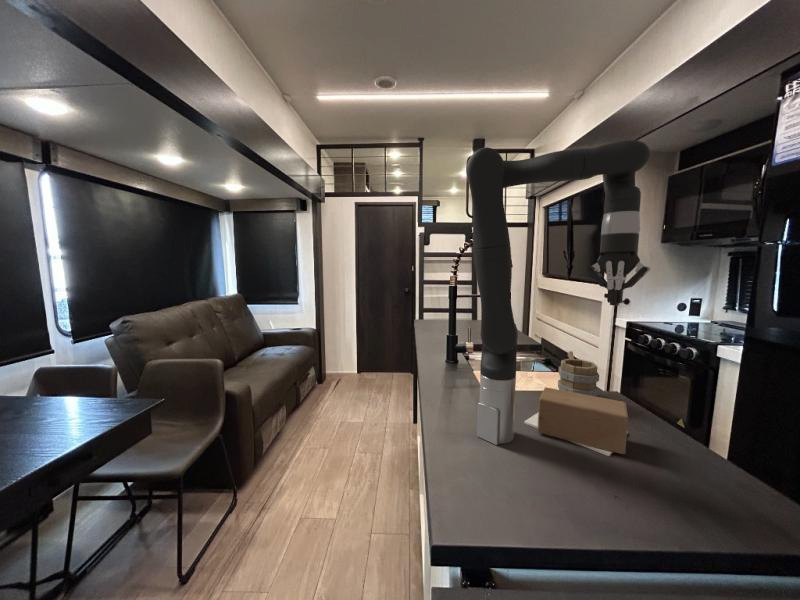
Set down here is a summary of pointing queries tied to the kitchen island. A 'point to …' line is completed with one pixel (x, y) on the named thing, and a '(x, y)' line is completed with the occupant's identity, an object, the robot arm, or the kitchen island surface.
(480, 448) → the kitchen island surface
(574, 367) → the tankard
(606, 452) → the mat
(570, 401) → the wooden block
